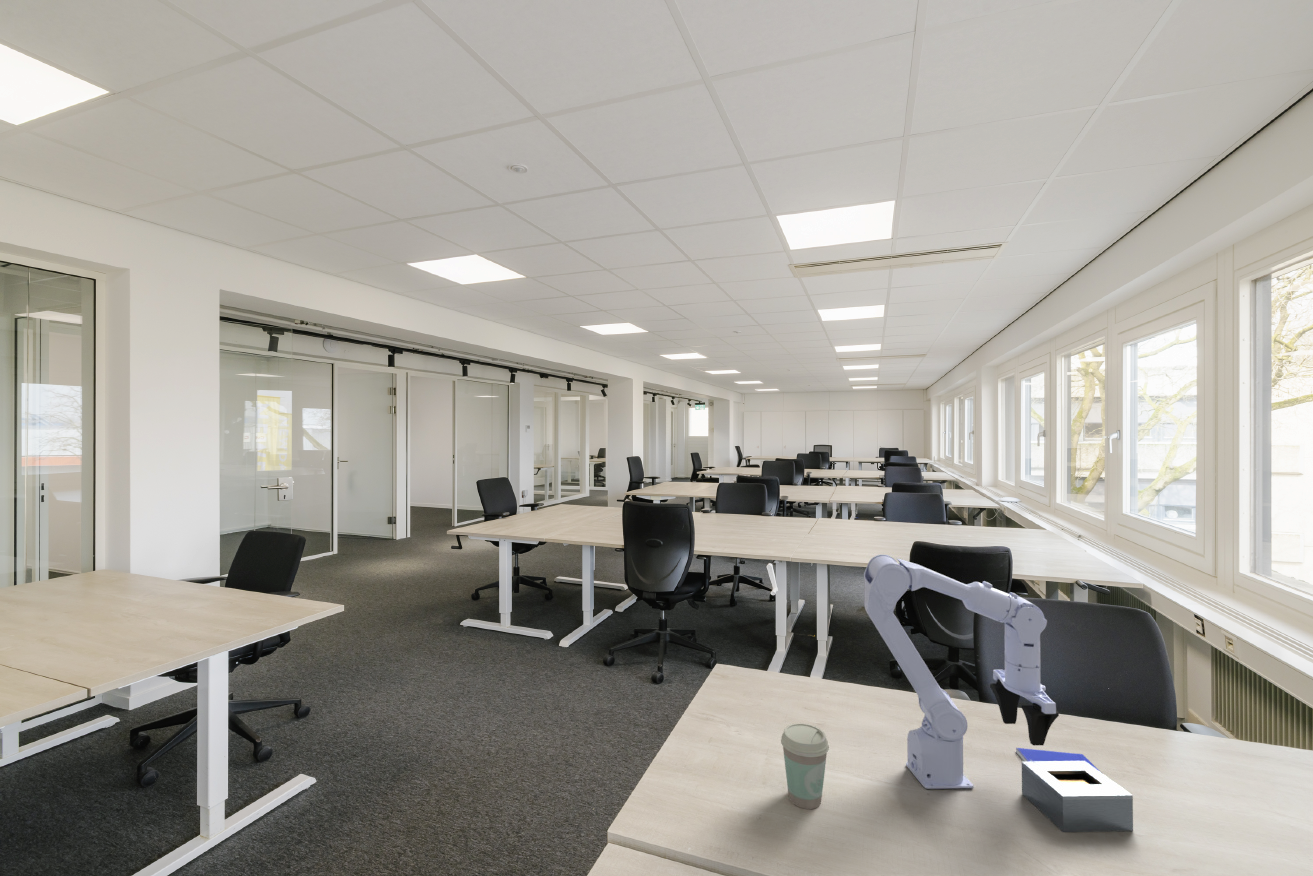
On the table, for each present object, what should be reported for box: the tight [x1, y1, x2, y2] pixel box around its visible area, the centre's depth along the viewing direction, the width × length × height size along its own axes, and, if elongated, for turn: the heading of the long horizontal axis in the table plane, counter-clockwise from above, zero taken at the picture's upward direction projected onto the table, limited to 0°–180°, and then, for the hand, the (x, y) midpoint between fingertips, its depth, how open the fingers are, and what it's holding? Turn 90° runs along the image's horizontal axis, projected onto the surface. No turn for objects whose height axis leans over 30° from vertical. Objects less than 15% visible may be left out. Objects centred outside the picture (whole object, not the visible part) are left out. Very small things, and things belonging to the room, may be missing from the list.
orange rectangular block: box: [1058, 780, 1089, 785], centre depth 96 cm, size 5×2×4 cm, turn 90°
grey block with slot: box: [1021, 760, 1134, 833], centre depth 96 cm, size 12×10×6 cm
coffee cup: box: [780, 722, 830, 810], centre depth 100 cm, size 8×8×12 cm
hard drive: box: [1015, 747, 1100, 771], centre depth 110 cm, size 2×8×12 cm
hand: (1022, 733), depth 104 cm, fingers open, 7 cm apart
